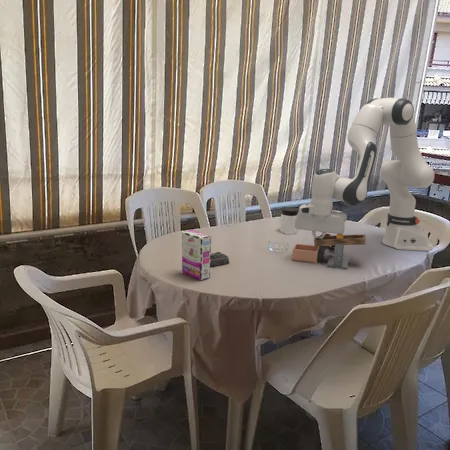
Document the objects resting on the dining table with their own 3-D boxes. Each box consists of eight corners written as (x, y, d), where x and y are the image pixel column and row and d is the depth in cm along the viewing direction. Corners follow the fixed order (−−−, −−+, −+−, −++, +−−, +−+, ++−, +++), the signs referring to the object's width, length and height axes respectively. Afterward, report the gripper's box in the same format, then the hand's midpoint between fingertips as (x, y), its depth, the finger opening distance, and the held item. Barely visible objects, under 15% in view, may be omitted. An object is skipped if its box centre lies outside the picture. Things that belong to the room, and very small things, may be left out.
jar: (284, 228, 240) (285, 206, 237) (299, 231, 237) (300, 208, 234) (278, 233, 233) (279, 209, 229) (293, 235, 229) (295, 212, 226)
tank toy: (205, 270, 182) (205, 257, 180) (195, 262, 190) (195, 250, 188) (232, 265, 187) (232, 253, 186) (221, 258, 195) (221, 246, 194)
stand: (348, 259, 197) (351, 236, 194) (347, 269, 185) (349, 245, 182) (320, 255, 200) (322, 233, 198) (316, 265, 188) (318, 242, 186)
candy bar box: (211, 278, 173) (211, 235, 168) (200, 281, 169) (201, 238, 165) (191, 269, 180) (191, 229, 176) (181, 272, 177) (181, 231, 172)
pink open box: (318, 257, 198) (319, 246, 197) (316, 263, 191) (317, 252, 189) (295, 254, 201) (295, 243, 200) (292, 260, 193) (292, 249, 192)
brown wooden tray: (365, 240, 191) (365, 233, 190) (365, 246, 183) (364, 239, 182) (316, 241, 197) (316, 235, 196) (314, 247, 189) (313, 241, 188)
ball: (343, 239, 190) (343, 232, 190) (343, 241, 188) (343, 234, 187) (336, 239, 191) (336, 232, 191) (335, 241, 189) (335, 234, 188)
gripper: (347, 209, 189) (344, 242, 192) (297, 205, 194) (295, 236, 198) (346, 213, 183) (343, 246, 186) (295, 208, 188) (292, 240, 192)
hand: (318, 241), depth 192 cm, fingers closed
